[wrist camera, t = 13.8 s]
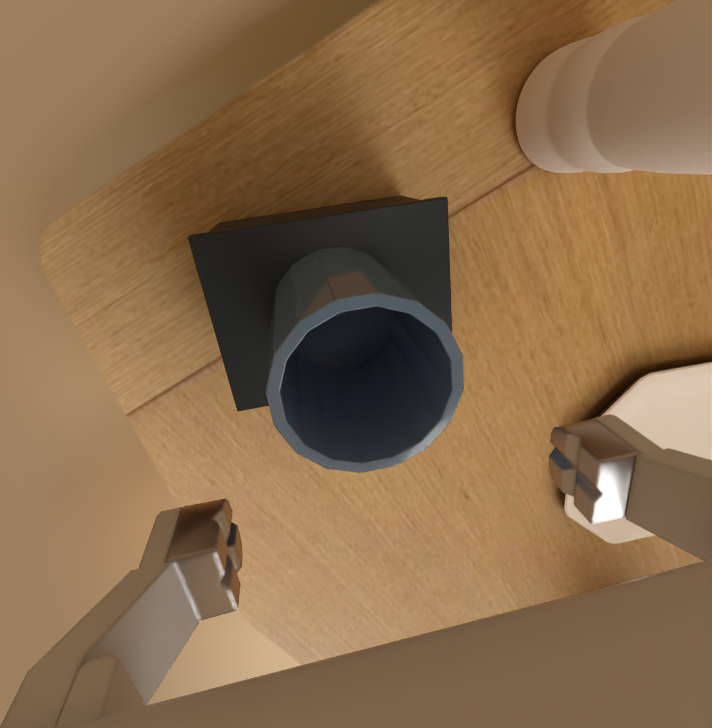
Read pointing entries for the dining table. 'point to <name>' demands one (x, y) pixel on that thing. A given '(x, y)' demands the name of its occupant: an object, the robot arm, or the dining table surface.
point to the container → (289, 244)
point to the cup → (358, 363)
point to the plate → (659, 428)
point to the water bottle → (625, 97)
